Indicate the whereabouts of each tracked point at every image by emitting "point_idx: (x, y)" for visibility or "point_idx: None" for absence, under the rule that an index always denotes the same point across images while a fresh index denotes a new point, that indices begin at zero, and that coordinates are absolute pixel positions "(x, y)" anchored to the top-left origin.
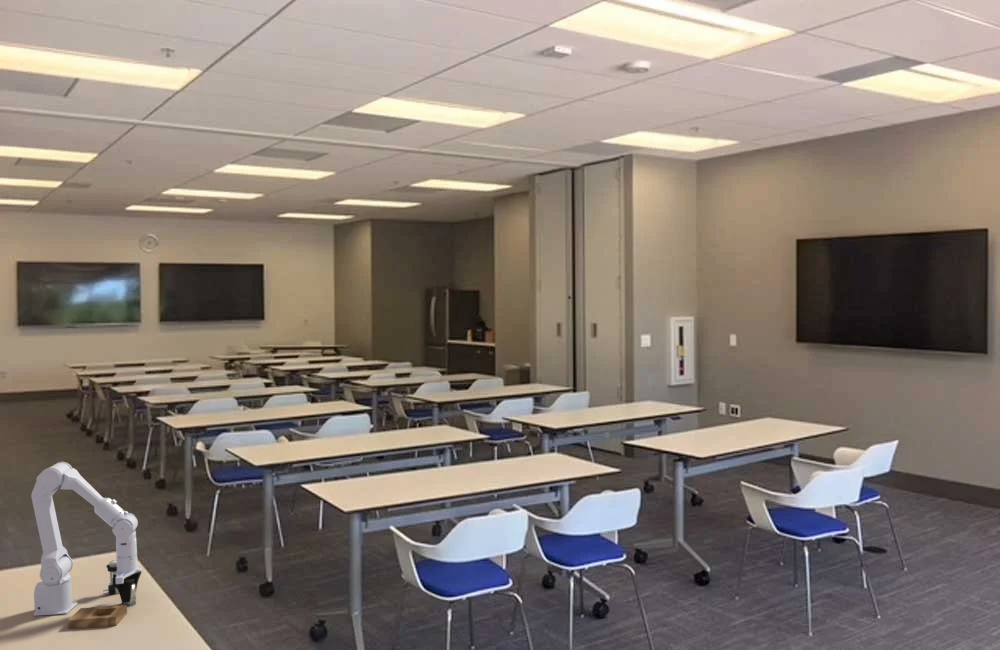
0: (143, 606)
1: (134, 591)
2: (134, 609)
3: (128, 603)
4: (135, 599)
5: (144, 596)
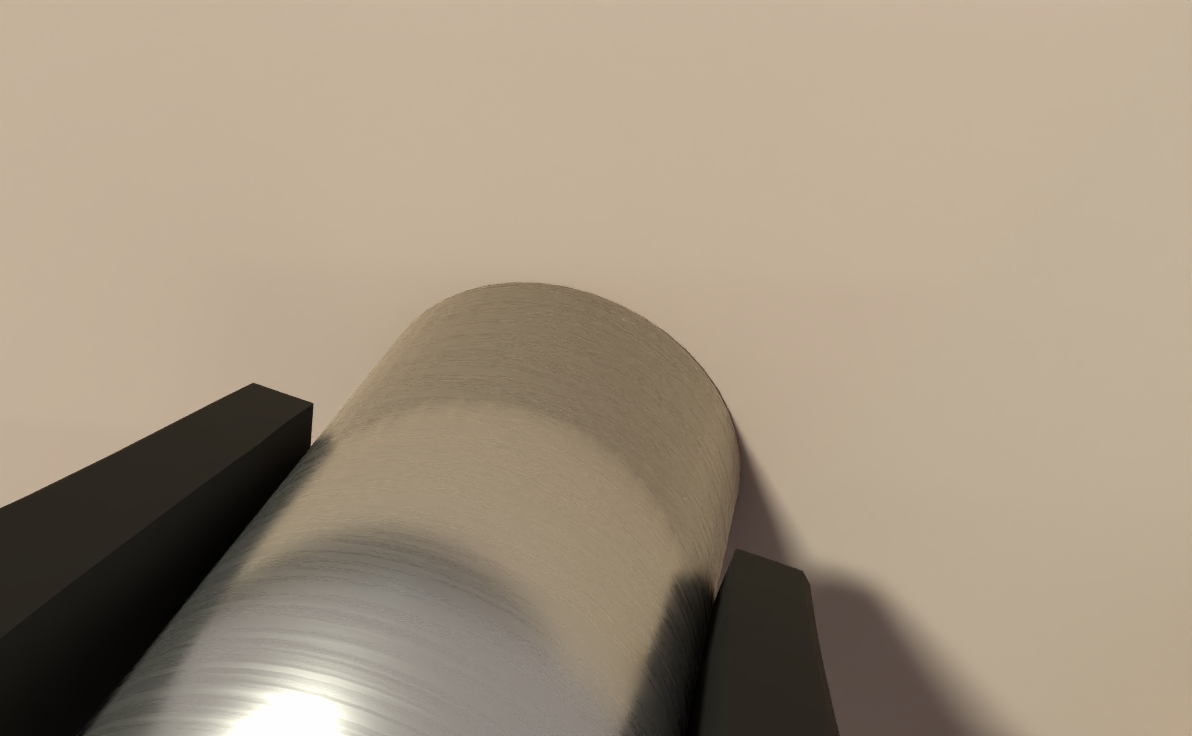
0: (979, 58)
1: (492, 615)
2: (1113, 346)
3: (722, 532)
4: (551, 372)
5: (3, 43)
